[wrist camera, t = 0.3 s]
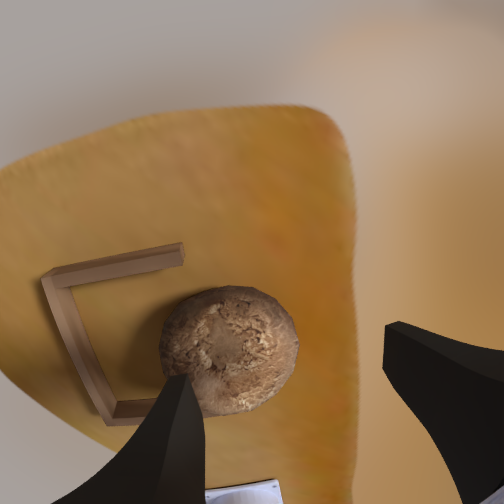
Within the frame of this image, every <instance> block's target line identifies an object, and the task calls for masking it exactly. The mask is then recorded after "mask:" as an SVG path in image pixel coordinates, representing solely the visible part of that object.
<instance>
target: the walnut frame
mask: <svg viewBox="0 0 504 504" xmlns="http://www.w3.org/2000/svg"><path fill="white" fill-rule="evenodd" d="M184 257H185V254H184V249H183V244H182V242H181V243H175V244H170V245H165V246H160V247H155V248H150V249H144V250H139V251H134V252H129V253H124V254H119V255H114V256H109V257H104V258H99V259H95V260H90V261H85V262H80V263H75V264H71V265H66V266H61V267H56V268H53V269H52V270H51V271H49V272H48V273H47V274H45V275H44V276H43V277H42V278H40V279H41V282H42V285H43V288H44V291H45V294H46V297H47V299H48V302H49V305H50V308H51V310H52V313H53V316H54V318H55V321H56V324H57V326H58V329H59V331H60V333H61V336H62V338H63V341H64V343H65V345H66V348H67V350H68V352H69V354H70V357H71V359H72V361H73V363H74V365H75V367H76V369H77V371H78V374H79V376H80V378H81V380H82V382H83V384H84V386H85V388H86V389H87V391H88V393H89V395H90V397H91V399H92V401H93V403H94V404H95V406H96V408H97V410H98V412H99V413H100V415H101V417H102V419H103V420H104V422H105V424H106V425H107V426H128V425H140V424H141V423H142V422H143V420H144V419H145V417H146V416H147V414H148V413H149V411H150V409H151V408H152V406H153V405H154V403H155V401H156V400H157V398H154V399H144V400H133V401H119V402H117V401H116V399H115V397H114V395H113V393H112V391H111V389H110V386H109V384H108V382H107V380H106V378H105V376H104V374H103V372H102V369H101V367H100V365H99V363H98V360H97V358H96V356H95V353H94V351H93V349H92V346H91V344H90V341H89V339H88V336H87V334H86V331H85V329H84V326H83V323H82V321H81V318H80V315H79V313H78V310H77V307H76V304H75V301H74V298H73V295H72V292H71V289H70V286H74V285H79V284H85V283H90V282H95V281H101V280H106V279H112V278H117V277H123V276H128V275H133V274H139V273H144V272H150V271H155V270H160V269H166V268H171V267H177V266H182V265H183V261H184ZM201 412H202V414H203V418H208V417H215V416H221V415H217V414H212V413H207V412H203V411H201Z"/></svg>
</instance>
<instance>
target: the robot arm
mask: <svg viewBox="0 0 504 504" xmlns="http://www.w3.org/2000/svg"><path fill="white" fill-rule="evenodd" d="M384 336H385V337H384V354H383V367H382V368H383V370H384V372H385V374H386V376H387V378H388V379H389V381H390V383H391V384H392V386H393V388H394V389H395V390H396V392H397V393H398V394H399V396H400V397H401V398H402V399H403V401H404V402H405V403H406V404H407V406H408V407H409V408H410V409H411V410H412V412H413V413H414V414H415V415H416V417H417V418H418V419H419V420H420V422H421V423H422V424H423V426H424V427H425V428H426V430H427V431H428V433H429V434H430V436H431V438H432V439H433V441H434V443H435V444H436V446H437V448H438V450H439V451H440V453H441V455H442V457H443V459H444V461H445V463H446V465H447V467H448V469H449V471H450V473H451V475H452V477H453V480H454V482H455V485H456V487H457V490H458V492H459V495H460V498H461V500H462V503H463V504H504V351H502V350H494V349H489V348H483V347H478V346H474V345H470V344H467V343H463V342H459V341H456V340H453V339H450V338H447V337H444V336H441V335H438V334H435V333H432V332H429V331H427V330H424V329H421V328H419V327H416V326H413V325H410V324H407V323H404V322H400V321H397V322H394V323H391V324H389V325H385V335H384ZM52 504H283V502H282V497H281V492H280V487H279V483H278V480H269V481H264V482H259V483H253V484H247V485H241V486H235V487H228V488H220V489H212V490H205V432H204V423H203V414H202V412H201V409H200V406H199V404H198V401H197V398H196V396H195V393H194V390H193V387H192V384H191V382H190V379H189V376H188V373H186V374H179V375H172V376H170V377H169V379H168V380H167V382H166V384H165V386H164V387H163V389H162V391H161V393H160V394H159V396H158V398H157V400H156V401H155V403H154V405H153V406H152V408H151V409H150V411H149V413H148V414H147V416H146V417H145V419H144V420H143V422H142V423H141V424H140V426H139V427H138V429H137V430H136V431H135V433H134V434H133V436H132V437H131V438H130V439H129V441H128V442H127V443H126V444H125V446H124V447H123V448H122V449H121V450H120V451H119V452H118V453H117V454H116V455H115V457H114V458H113V459H111V460H110V461H109V462H108V463H107V464H106V465H105V466H104V467H103V468H102V469H101V470H100V471H98V472H97V473H96V474H95V475H94V476H93V477H91V478H90V479H89V480H88V481H86V482H85V483H83V484H82V485H81V486H79V487H78V488H77V489H75V490H74V491H72V492H70V493H69V494H67V495H65V496H64V497H62V498H61V499H58V500H57V501H55V502H53V503H52Z"/></svg>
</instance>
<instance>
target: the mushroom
mask: <svg viewBox="0 0 504 504" xmlns="http://www.w3.org/2000/svg"><path fill="white" fill-rule="evenodd" d="M299 346H300V344H299V341H298V337H297V334H296V330H295V327H294V323H293V319H292V317H291V316H290V315H289V314H288V313H287V312H286V310H285V309H284V308H283V307H282V306H281V305H280V303H279V302H278V301H277V300H276V299H275V298H273V297H271V296H269V295H267V294H265V293H263V292H261V291H259V290H257V289H255V288H253V287H243V286H229V285H228V286H224V287H220V288H216V289H212V290H207V291H204V292H201V293H199V294H197V295H195V296H193V297H191V298H188V299H186V300H184V301H182V302H180V303H179V304H178V306H177V307H176V308H175V309H174V311H173V312H172V313H171V315H170V316H169V317H168V319H167V320H166V321H165V323H164V326H163V331H162V335H161V340H160V344H159V352H160V358H161V363H162V368H163V373H164V375H165V376H166V378H167V380H168V379H169V377H170V376H172V375H179V374H186V373H188V376H189V379H190V382H191V384H192V387H193V390H194V393H195V396H196V398H197V401H198V404H199V406H200V409H201V411H203V412H207V413H212V414H217V415H222V416H225V415H231V414H237V413H243V412H248V411H252V410H254V409H255V408H257V407H258V406H260V405H261V404H263V403H264V402H266V401H267V400H269V399H270V398H272V397H273V396H275V395H276V394H277V393H278V391H279V390H280V389H281V387H282V386H283V385H284V384H285V382H286V381H287V380H288V378H289V377H290V376H291V374H292V373H293V371H294V367H295V362H296V358H297V354H298V350H299Z"/></svg>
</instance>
